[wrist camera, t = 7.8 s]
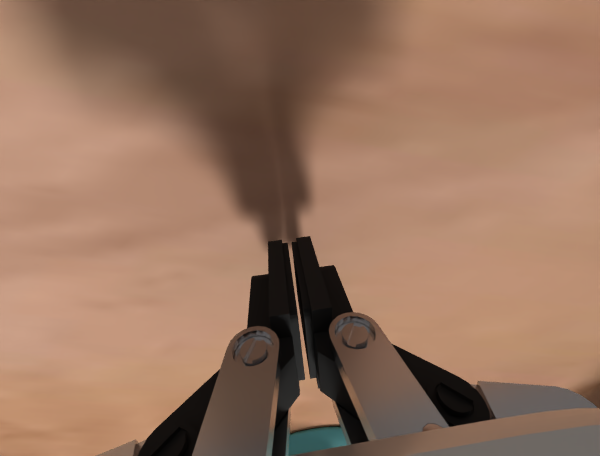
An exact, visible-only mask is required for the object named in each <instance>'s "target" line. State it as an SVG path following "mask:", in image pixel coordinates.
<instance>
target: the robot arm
mask: <svg viewBox="0 0 600 456" xmlns="http://www.w3.org/2000/svg"><path fill="white" fill-rule="evenodd" d="M296 240H297V242H292V250H293V259H294V268H295V277H296V286H297V295H298V302H299V309H300V315H301V322H302V328H303V335H304V341H305V348H306V354H307V361H308V367H309V374H310V379H311V378H317V384H318V388H320V391H321V392H323V393H324V394H325V395H327V396H328V397H330V398H331V399H332V402H333V407H334V409H335V412H336V415H337V418H338V421H339V423H340V426H341V429H342V432H343V434H344V437H345V440H346V443H347V445H346V446H340V447H335V448H329V449H324V450H318V451H313V452H307V453H302V454H296V455H291V456H600V408H597V407H596V406H595V405H594V404H593V403H591V402H590V401H588V400H587V399H586V398H584V397H583V396H581V395H579V394H577V393H575V392H573V391H570V390H568V389H564V388H560V387H555V386H541V385H527V384H513V383H499V382H485V381H478V382H477V385H470V384H469V383H468V382H466V381H464V380H463V379H461V378H460V377H458V376H456V375H454V374H452V373H450V372H448V371H446V370H444V369H442V368H440V367H438V366H436V365H434V364H432V363H430V362H428V361H425V360H423V359H421V358H419V357H417V356H415V355H413V354H411V353H409V352H407V351H405V350H403V349H401V348H399V347H397V346H395V345H393V344H391V342H390V341H389V340H388V338H387V337H386V335H385V334H384V332H383V331H382V330H381V328H380V327H379V325H378V324H377V323H376V322H375V321H374V320H373V319H372V318H370V317H369V316H367V315H364V314H361V313H355V312H353V311H352V308H351V306H350V303H349V301H348V298H347V296H346V293H345V291H344V288H343V286H342V283H341V281H340V278H339V276H338V273H337V271H336V268H335V266H334V265H332V266H324V267H319V264H318V261H317V258H316V254H315V251H314V248H313V245H312V241H311V238H310V236H308V237H300V238H296ZM268 271H269V274H265V275H258V276H252V279H251V289H250V301H249V313H248V325H247V329H244V330H242V331H241V332H239V333H238V334H236V335H235V336H234V338H233V339H232V340H231V341H230V343H229V345H228V347H227V350H226V353H225V356H224V359H223V362H222V365H221V368H220V369H219V370H218V371H217V372H216V373H215V374H214V375H213V376H212V377H211V378H210V379H209V380H208V381H207V382H206V383H204V384H203V385H202V386H201V387H200V388H199V389H198V390H197V391H196V392H195V393H194V394H193V395H192V396H190V397H189V398H188V399H187V400H186V401H185V402H184V403H183V404H182V405H181V406H180V407H179V408H178V409H177V410H175V411H174V412H173V413H172V414H171V415H170V416H169V417H168V418H167V419H166V420H165V421H164V422H163V423H161V424H160V425H159V426H158V427H157V428H156V429H155V430H154V431H153V433H152V434H151V435H150V436H149V437H148V438H147V440H145V441H142V442H140V443H138V442H137V441H136V440H133V441H131V442H128V443H126V444H124V445H121V446H119V447H116V448H114V449H111V450H109V451H106V452H104V453H102V454H99V455H97V456H288V453H289V436H290V420H291V409H290V407H291V406H292V404H293V403H294V401H295V400H296V399H297V397H298V396H299V395H300V388H299V380H305V374H304V366H303V357H302V349H301V340H300V331H299V323H298V315H297V307H296V300H295V293H294V286H293V279H292V272H291V264H290V257H289V250H288V243H282V240H277V241H269V242H268Z"/></svg>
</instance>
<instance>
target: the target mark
mask: <svg viewBox="0 0 600 456" xmlns="http://www.w3.org/2000/svg"><path fill="white" fill-rule="evenodd" d="M346 445H347V443H346V440H345V437H344V434H343V432H342V429H341V427H321V428H314V429H308V430H304V431H299V432H295V433H292V434H290V436H289V453H288V456H291V455H296V454H302V453H307V452H313V451H318V450H324V449H329V448H335V447H340V446H346Z"/></svg>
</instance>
